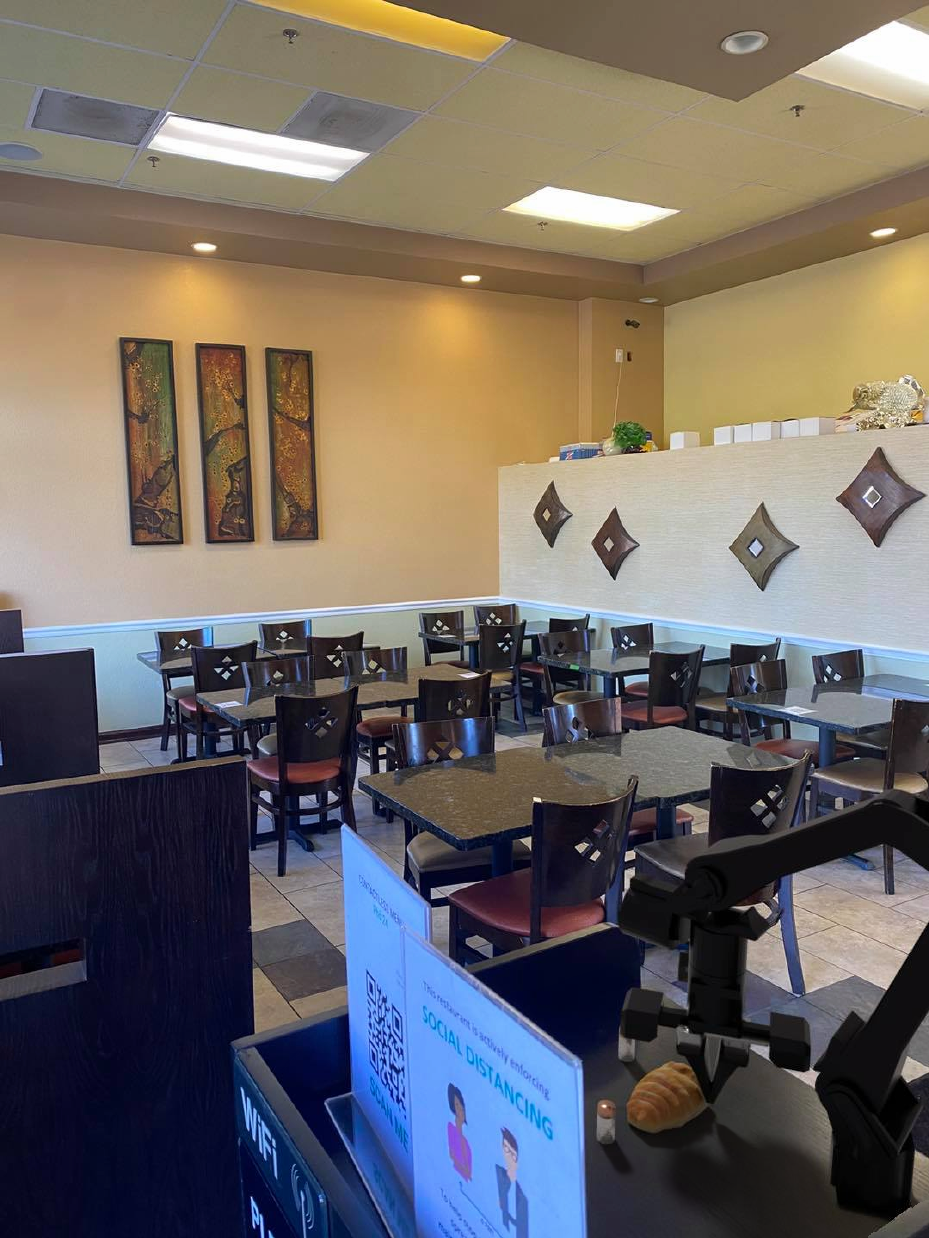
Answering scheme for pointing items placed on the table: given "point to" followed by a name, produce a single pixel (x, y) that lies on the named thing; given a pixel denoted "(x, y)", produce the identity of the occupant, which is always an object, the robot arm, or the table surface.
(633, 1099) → the pastry
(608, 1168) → the table surface
